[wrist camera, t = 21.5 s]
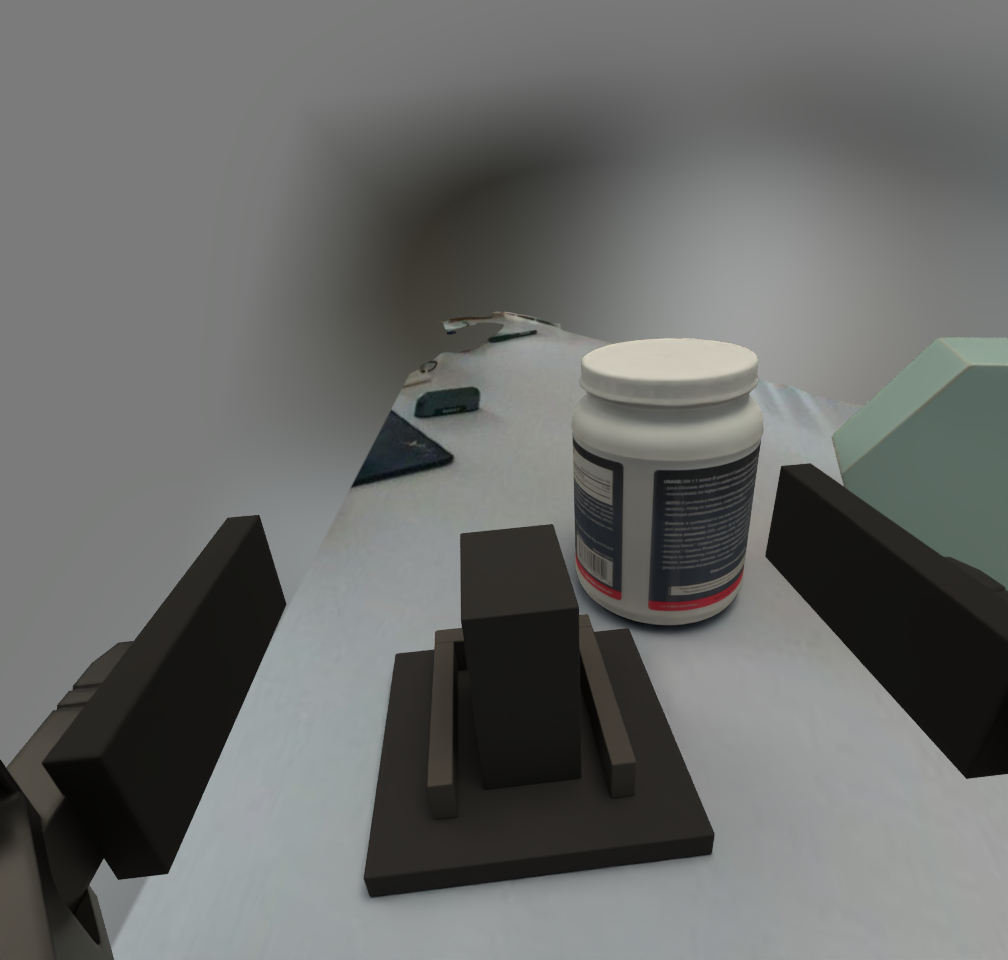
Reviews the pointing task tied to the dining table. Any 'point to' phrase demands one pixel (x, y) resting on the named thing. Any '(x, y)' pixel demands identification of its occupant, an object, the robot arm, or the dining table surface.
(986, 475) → the green hexagonal block
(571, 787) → the base pad
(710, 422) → the supplement tub
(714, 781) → the dining table surface
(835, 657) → the dining table surface
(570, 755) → the tall dark brick
